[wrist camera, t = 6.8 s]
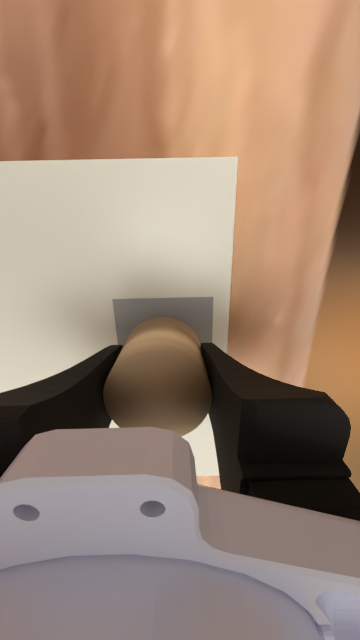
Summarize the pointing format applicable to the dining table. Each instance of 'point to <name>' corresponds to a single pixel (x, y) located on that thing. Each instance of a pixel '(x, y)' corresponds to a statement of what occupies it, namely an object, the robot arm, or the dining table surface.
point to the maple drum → (159, 379)
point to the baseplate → (112, 261)
